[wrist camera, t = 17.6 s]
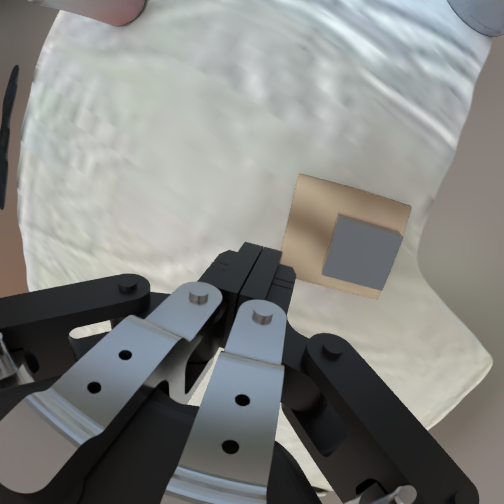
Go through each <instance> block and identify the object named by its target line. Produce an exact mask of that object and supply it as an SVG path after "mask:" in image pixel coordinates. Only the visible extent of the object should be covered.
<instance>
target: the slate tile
mask: <svg viewBox="0 0 504 504" xmlns="http://www.w3.org/2000/svg"><path fill="white" fill-rule="evenodd" d="M402 239H403V236H402V235H401V234H400V232H399V231H398V229H395V228H391V227H388V226H385V225H382V224H378V223H375V222H372V221H368V220H365V219H362V218H358V217H355V216H351V215H348V214H344V213H341V212H337V216H336V220H335V223H334V226H333V230H332V233H331V237H330V240H329V243H328V247H327V250H326V253H325V257H324V260H323V263H322V275H324V276H327V277H331V278H335V279H339V280H342V281H346V282H350V283H354V284H358V285H361V286H365V287H369V288H373V289H377V290H380V291H382V290H383V287H384V285H385V283H386V280H387V278H388V275H389V273H390V270H391V268H392V265H393V263H394V260H395V258H396V255H397V252H398V250H399V247H400V244H401V242H402Z"/></svg>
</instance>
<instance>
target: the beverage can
mask: <svg viewBox="0 0 504 504" xmlns="http://www.w3.org/2000/svg"><path fill="white" fill-rule="evenodd" d="M28 1H32V2H33V3H34V4H38V5H42V6H47V7H51V8H56V9H60V10H64V11H68V12H71V13H75V14H78V15H82V16H85V17H89V18H92V19H95V20H98V21H101V22H104V23H107V24H110V25H113V26H121V25H124V24H127V23H129V22H131V21H132V20H133V19H135V18H136V17H137V16H138V15H139V13H140V12H141V11H142V9H143V7H144V4H145V0H28Z"/></svg>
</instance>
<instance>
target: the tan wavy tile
mask: <svg viewBox="0 0 504 504" xmlns="http://www.w3.org/2000/svg"><path fill="white" fill-rule="evenodd" d="M411 208H412V207H411V206H409V205H406V204H403V203H400V202H397V201H394V200H391V199H388V198H385V197H382V196H379V195H375V194H372V193H369V192H366V191H362V190H359V189H355V188H352V187H348V186H345V185H341V184H338V183H334V182H330V181H327V180H323V179H319V178H315V177H311V176H307V175H303V174H299V175H298V179H297V183H296V188H295V192H294V197H293V201H292V205H291V210H290V214H289V218H288V222H287V227H286V231H285V235H284V239H283V243H282V248H281V251H282V252H283V253H282V258H281V262H280V264H283V265H286V266H290V267H293V269H294V271H295V273H296V279H300V280H303V281H307V282H311V283H315V284H319V285H322V286H326V287H330V288H334V289H338V290H342V291H346V292H349V293H353V294H357V295H361V296H365V297H369V298H373V299H378V296H379V294H380V292H381V291H380V290H377V289H373V288H369V287H365V286H361V285H358V284H354V283H350V282H346V281H342V280H339V279H335V278H331V277H327V276H324V275H322V263H323V260H324V257H325V253H326V250H327V247H328V243H329V240H330V237H331V233H332V230H333V226H334V223H335V220H336V216H337V212H341V213H344V214H348V215H351V216H355V217H358V218H362V219H365V220H368V221H372V222H375V223H378V224H382V225H385V226H388V227H391V228H395V229H398V231H399V232H400V234H401V235H403V232H404V230H405V227H406V224H407V221H408V218H409V215H410V211H411Z"/></svg>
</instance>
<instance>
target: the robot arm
mask: <svg viewBox="0 0 504 504" xmlns="http://www.w3.org/2000/svg"><path fill="white" fill-rule="evenodd" d="M448 2H449V3H450V5H451V7H452V8H453V9H454V11H455V12H456V13H457V14H458V15H459V16H460V17H461V19H462V20H463V21H464V22H466V23H467V24H468V25H469V26H471V27H472V28H473V29H475V30H476V31H478V32H480V33H482V34H484V35H488V36H492V37H497V36H501V35H503V34H504V0H448ZM282 253H283V252H282V251H278V250H275V249H271V248H267V247H264V249H263V246H259V245H256V244H252V243H248V242H245V243H244V244H243V245H242V247H241V248H240V250H239V251H238V252H235V251H231V250H228V251H226V252H223V253H221V254H219V255H218V257H217V258H216V259H215V260H214V262H213V263H212V264H211V265H210V267H209V268H208V269H207V270H206V271H205V272H204V274H203V275H202V276H201V277H200V279H199V280H198V281H197V282H188V283H185V284H183V285H181V286H179V287H178V288H177V289H176V290H175V291H174V292H173V293H172V294H165V293H156V292H150V283H149V281H148V280H147V279H146V278H144V277H142V276H140V275H136V274H120V275H115V276H110V277H105V278H100V279H95V280H89V281H84V282H79V283H74V284H69V285H64V286H59V287H54V288H49V289H44V290H38V291H33V292H29V293H23V294H18V295H13V296H9V297H4V298H0V504H322V503H321V501H320V499H319V498H318V496H317V494H316V493H315V491H314V489H313V488H312V486H311V484H310V483H309V481H308V479H307V478H306V476H305V474H304V472H303V471H302V469H301V467H300V466H299V464H298V462H297V461H296V460H295V459H294V457H293V456H292V455H291V454H290V453H289V452H288V451H287V450H286V449H285V448H284V447H283V446H282V445H280V444H279V443H278V442H277V441H275V435H276V429H277V422H278V415H279V408H280V402H281V403H282V404H281V406H282V411H283V413H284V414H285V416H286V418H287V419H288V421H289V423H290V424H291V426H292V427H293V429H294V431H295V432H296V434H297V435H298V437H299V438H300V440H301V442H302V443H303V445H304V446H305V448H306V449H307V451H308V452H309V454H310V455H311V457H312V458H313V460H314V462H315V463H316V465H317V466H318V468H319V469H320V471H321V472H322V474H323V475H324V476H325V478H326V479H327V481H328V482H329V484H330V485H331V487H332V488H333V490H334V491H335V492H336V494H337V495H338V497H339V498H340V499H341V501H342V502H343V504H479V495H478V491H477V489H476V487H475V485H474V484H473V483H472V482H471V481H470V479H469V478H468V477H467V476H466V475H465V474H464V473H463V471H462V470H461V469H460V468H459V467H458V466H457V464H456V463H455V462H454V461H453V460H452V459H451V457H450V456H449V455H448V454H447V453H446V452H445V451H444V449H443V448H442V447H441V446H440V445H439V444H438V443H437V441H436V440H435V439H434V438H433V437H432V436H431V435H430V433H428V431H427V430H426V429H425V428H424V427H423V425H422V424H421V423H420V422H419V421H418V420H417V419H416V417H415V416H414V415H413V414H412V413H411V412H410V411H409V410H408V408H407V407H406V406H405V405H404V404H403V403H402V402H401V401H400V399H399V398H398V397H397V396H396V395H395V394H394V393H393V392H392V390H391V389H390V388H389V387H388V386H387V385H386V384H385V383H384V381H383V380H382V379H381V378H380V377H379V376H378V375H377V374H376V372H375V371H374V370H373V369H372V368H371V367H370V366H369V365H368V364H367V362H366V361H365V360H364V359H363V358H362V357H361V356H360V355H359V354H358V352H357V351H356V350H355V349H354V348H353V347H352V346H351V345H350V344H349V343H348V342H347V341H346V340H345V339H343V338H341V337H339V336H337V335H334V334H329V333H320V334H316V335H314V336H312V337H311V338H310V339H309V338H307V337H305V336H303V335H301V334H299V333H298V332H297V331H295V330H294V329H293V328H292V327H291V325H290V324H289V322H288V320H287V312H288V308H289V304H290V300H291V296H292V292H293V287H294V283H295V279H296V273H295V271H294V269H293V267H290V266H286V265H283V264H280V262H281V258H282ZM107 320H110V322H111V329H112V330H111V331H109V332H105V333H100V334H96V335H92V336H88V337H84V338H79V339H75V338H72V337H70V336H69V333H70V332H71V331H72V330H73V329H75V328H77V327H82V326H86V325H90V324H95V323H99V322H103V321H107ZM219 347H221V348H224V351H221V352H220V354H219V356H218V359H217V362H216V364H215V367H214V370H213V373H212V375H211V378H210V381H209V383H208V386H207V389H206V391H205V394H204V397H203V399H202V402H201V405H200V407H199V406H192V405H187V404H188V402H189V400H190V398H191V397H192V395H193V394H194V392H195V391H196V389H197V388H198V386H199V384H200V383H201V381H202V380H203V378H204V377H205V375H206V373H207V372H208V370H209V369H210V367H211V365H212V364H213V360H214V356H215V354H216V352H217V350H218V348H219Z"/></svg>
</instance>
